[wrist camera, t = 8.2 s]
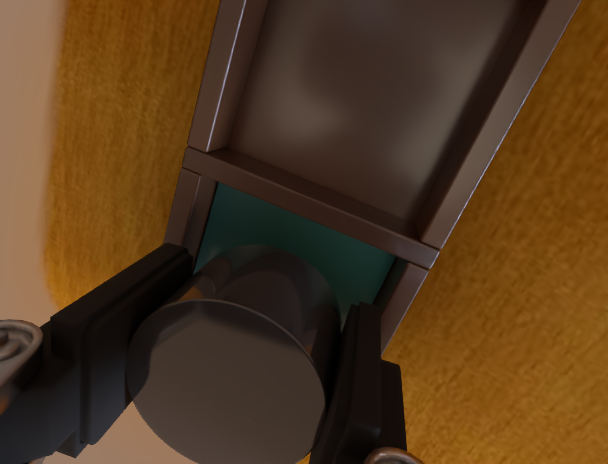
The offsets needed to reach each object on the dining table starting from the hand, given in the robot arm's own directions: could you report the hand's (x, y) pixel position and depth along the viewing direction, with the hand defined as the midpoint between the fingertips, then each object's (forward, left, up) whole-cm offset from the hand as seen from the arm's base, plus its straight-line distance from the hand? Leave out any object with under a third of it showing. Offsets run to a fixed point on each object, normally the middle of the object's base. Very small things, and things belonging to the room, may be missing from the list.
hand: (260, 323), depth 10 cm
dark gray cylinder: (0, 0, 0) cm, 0 cm away
